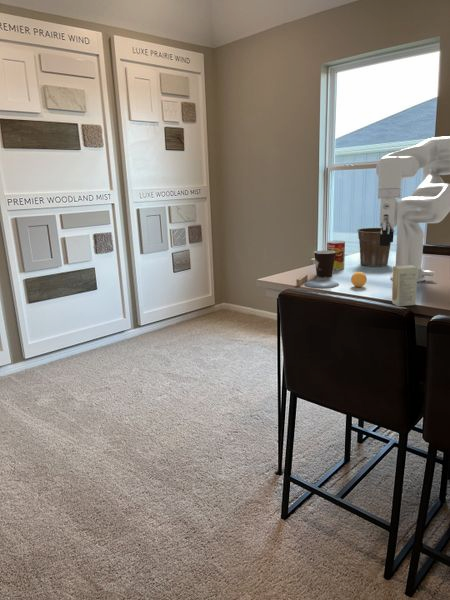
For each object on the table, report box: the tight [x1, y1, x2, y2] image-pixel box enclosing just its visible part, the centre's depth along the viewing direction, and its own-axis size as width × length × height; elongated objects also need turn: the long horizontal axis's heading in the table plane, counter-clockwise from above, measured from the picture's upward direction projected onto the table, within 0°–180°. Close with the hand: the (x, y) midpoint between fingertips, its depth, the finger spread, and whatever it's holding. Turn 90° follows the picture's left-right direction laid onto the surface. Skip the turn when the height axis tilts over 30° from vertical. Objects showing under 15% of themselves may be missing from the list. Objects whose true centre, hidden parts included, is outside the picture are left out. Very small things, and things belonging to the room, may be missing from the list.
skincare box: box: [391, 265, 418, 307], centre depth 142 cm, size 6×4×12 cm
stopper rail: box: [295, 274, 309, 287], centre depth 177 cm, size 2×10×2 cm, turn 154°
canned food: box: [326, 240, 346, 270], centre depth 203 cm, size 8×8×12 cm
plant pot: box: [356, 227, 395, 268], centre depth 207 cm, size 16×16×16 cm
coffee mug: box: [313, 250, 335, 278], centre depth 190 cm, size 12×9×10 cm
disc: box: [304, 279, 340, 289], centre depth 174 cm, size 13×13×1 cm
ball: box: [350, 271, 368, 288], centre depth 167 cm, size 6×6×6 cm
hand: (386, 243), depth 160 cm, fingers open, 8 cm apart
